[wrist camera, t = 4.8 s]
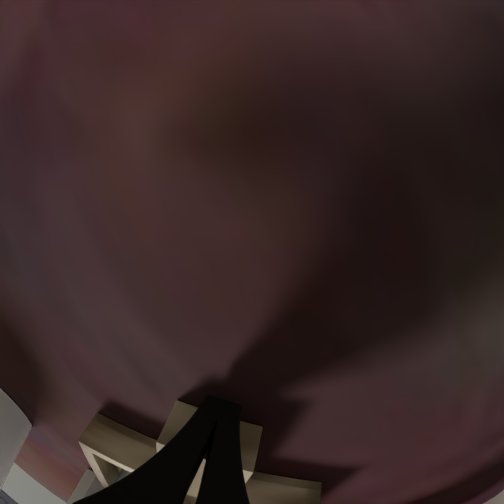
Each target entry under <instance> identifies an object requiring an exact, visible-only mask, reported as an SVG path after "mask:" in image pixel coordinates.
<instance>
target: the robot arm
mask: <svg viewBox="0 0 504 504" xmlns="http://www.w3.org/2000/svg"><path fill="white" fill-rule="evenodd" d="M241 410H242V407H241V405H239V404H236V403H232V402H229V401H226V400H222V399H219V398H216V397H213V396H210V395H207V396H205V397H204V399H203V401H202V403H201V404H200V406H199V407H198V409H197V410H196V412H195V413H194V414H193V416H192V417H191V418H190V419H189V421H188V422H187V423H186V424H185V425H184V426H183V427H182V429H181V430H180V431H179V432H178V433H177V434H176V435H175V436H174V437H173V438H172V439H171V440H170V441H169V442H168V443H167V444H166V445H165V446H164V447H163V448H162V449H161V450H160V451H159V452H157V453H156V454H155V455H154V456H153V457H151V458H150V459H149V460H148V461H146V462H145V463H144V464H143V465H141V466H140V467H138V468H137V469H136V470H134V471H133V472H131V473H130V474H128V475H127V476H125V477H124V478H122V479H120V480H119V481H117V482H115V483H113V484H112V485H110V486H108V487H106V488H104V489H102V490H100V491H98V492H96V493H94V494H92V495H90V496H87V497H85V498H82V499H80V500H78V501H75V502H74V503H72V504H183V503H184V500H185V497H186V495H187V493H188V490H189V488H190V486H191V484H192V482H193V480H194V478H195V476H196V474H197V472H198V470H199V467H200V465H201V463H202V461H203V459H204V457H205V455H206V453H207V450H208V453H207V457H206V461H205V466H204V470H203V474H202V479H201V483H200V487H199V492H198V495H197V499H196V502H195V504H250V502H249V498H248V494H247V490H246V485H245V480H244V474H243V467H242V459H241V447H240V418H241ZM0 504H18V503H17V502H15V501H14V500H13V499H12V498H10V497H9V496H8V495H7V494H6V493H5V492H4V491H3V490H1V489H0Z"/></svg>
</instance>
